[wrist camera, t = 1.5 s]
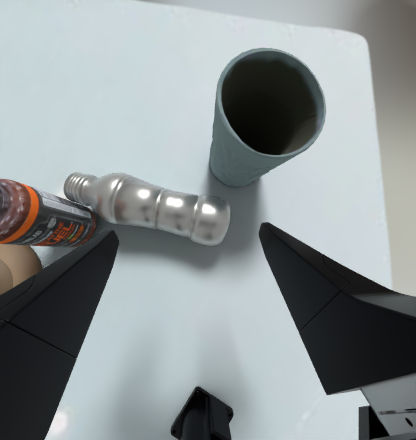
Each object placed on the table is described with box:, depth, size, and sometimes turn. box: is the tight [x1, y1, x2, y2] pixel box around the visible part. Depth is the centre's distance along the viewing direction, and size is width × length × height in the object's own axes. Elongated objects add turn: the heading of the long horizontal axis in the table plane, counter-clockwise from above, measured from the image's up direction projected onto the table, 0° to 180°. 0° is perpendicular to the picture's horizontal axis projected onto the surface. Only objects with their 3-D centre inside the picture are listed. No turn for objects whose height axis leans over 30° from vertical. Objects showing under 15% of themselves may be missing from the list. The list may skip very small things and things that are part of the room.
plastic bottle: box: [64, 173, 231, 246], centre depth 20 cm, size 6×7×20 cm
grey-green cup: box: [209, 48, 326, 187], centre depth 19 cm, size 10×10×12 cm
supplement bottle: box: [0, 179, 96, 247], centre depth 16 cm, size 6×6×11 cm
